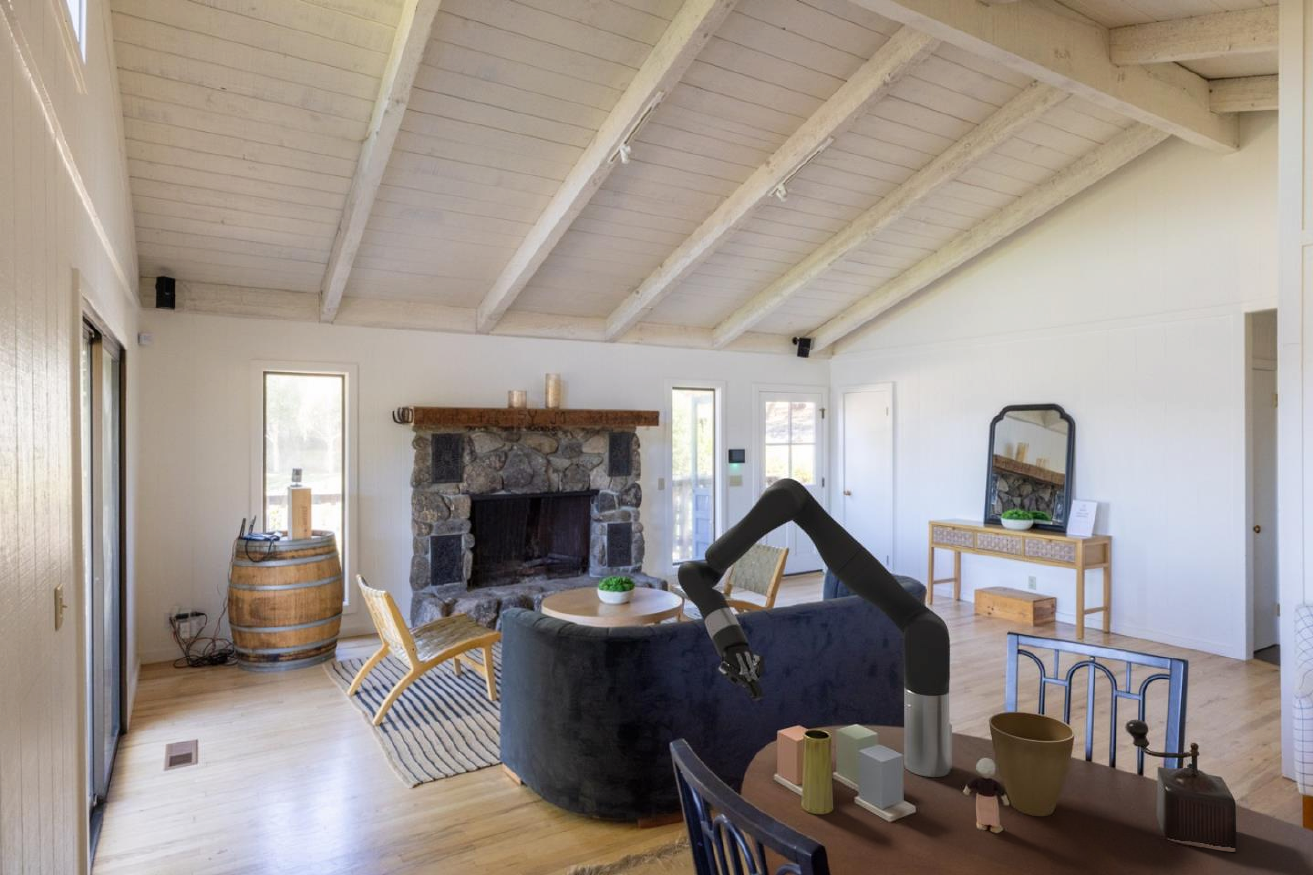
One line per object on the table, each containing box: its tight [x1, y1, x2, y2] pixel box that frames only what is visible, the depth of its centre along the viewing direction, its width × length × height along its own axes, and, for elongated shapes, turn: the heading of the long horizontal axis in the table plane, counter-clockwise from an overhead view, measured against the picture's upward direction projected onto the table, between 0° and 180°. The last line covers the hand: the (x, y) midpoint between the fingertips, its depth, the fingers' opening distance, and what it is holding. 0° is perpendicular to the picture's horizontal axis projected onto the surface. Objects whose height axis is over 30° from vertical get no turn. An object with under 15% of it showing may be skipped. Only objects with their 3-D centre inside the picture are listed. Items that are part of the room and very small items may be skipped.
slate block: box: [857, 743, 905, 809], centre depth 147 cm, size 6×6×9 cm
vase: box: [800, 728, 834, 816], centre depth 146 cm, size 6×6×14 cm
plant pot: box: [988, 711, 1076, 817], centre depth 146 cm, size 15×15×16 cm
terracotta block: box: [776, 725, 809, 785], centre depth 157 cm, size 6×6×9 cm
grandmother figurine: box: [962, 757, 1010, 834], centre depth 139 cm, size 8×4×13 cm, turn 71°
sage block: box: [835, 723, 879, 783], centre depth 158 cm, size 6×6×9 cm
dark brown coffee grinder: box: [1125, 719, 1237, 849], centre depth 138 cm, size 16×11×18 cm
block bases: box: [773, 771, 917, 823], centre depth 152 cm, size 18×25×1 cm
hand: (758, 698), depth 168 cm, fingers closed
